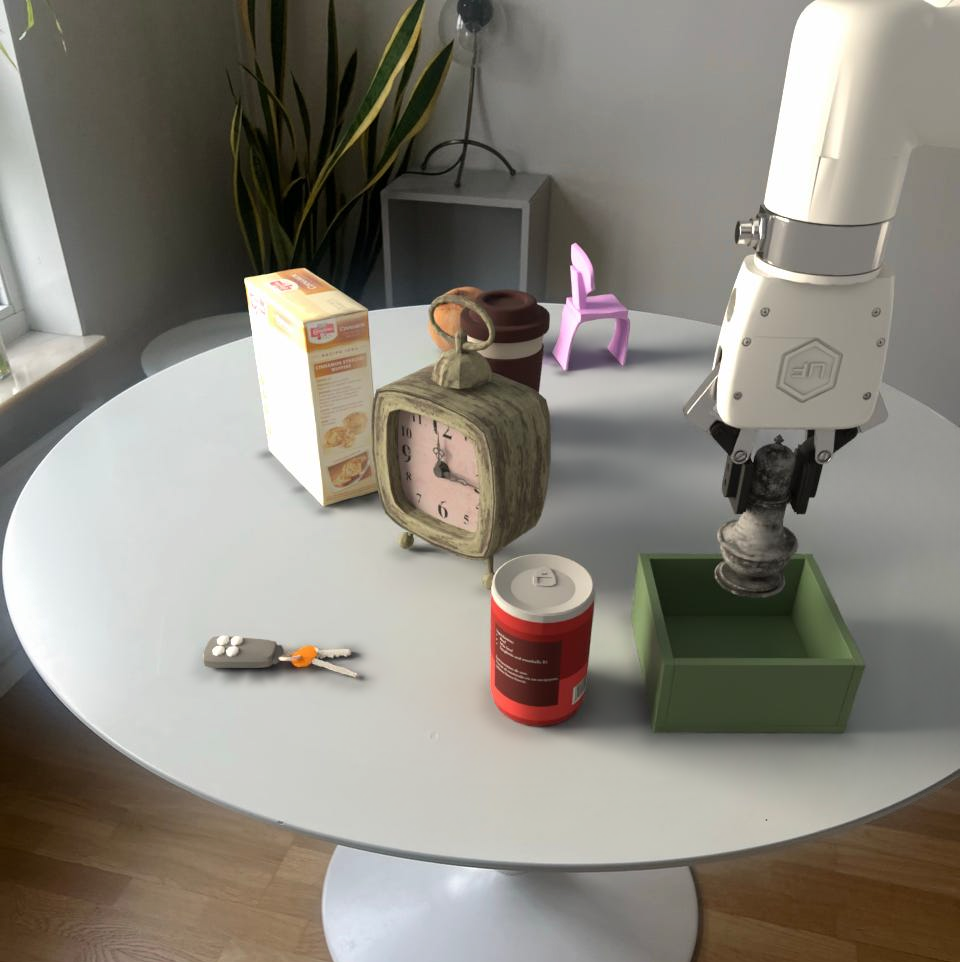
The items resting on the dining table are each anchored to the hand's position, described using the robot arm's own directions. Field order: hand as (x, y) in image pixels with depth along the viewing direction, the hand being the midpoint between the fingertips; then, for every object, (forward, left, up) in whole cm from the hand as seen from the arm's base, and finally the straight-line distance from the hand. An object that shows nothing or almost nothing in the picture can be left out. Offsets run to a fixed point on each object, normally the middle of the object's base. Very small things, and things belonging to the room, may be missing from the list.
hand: (765, 502), depth 70 cm
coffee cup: (+18, -45, -16) cm, 51 cm away
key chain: (+37, -1, -16) cm, 40 cm away
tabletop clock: (+22, -17, -16) cm, 32 cm away
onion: (+23, -67, -16) cm, 73 cm away
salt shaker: (0, 0, -7) cm, 7 cm away
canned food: (+16, +3, -16) cm, 23 cm away
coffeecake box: (+38, -34, -16) cm, 54 cm away
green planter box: (0, 0, -16) cm, 16 cm away
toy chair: (+6, -65, -16) cm, 67 cm away
